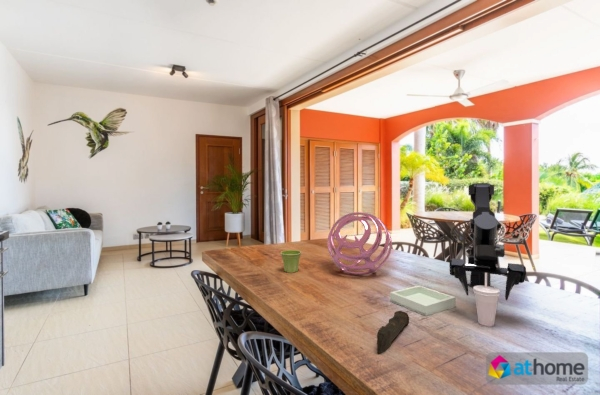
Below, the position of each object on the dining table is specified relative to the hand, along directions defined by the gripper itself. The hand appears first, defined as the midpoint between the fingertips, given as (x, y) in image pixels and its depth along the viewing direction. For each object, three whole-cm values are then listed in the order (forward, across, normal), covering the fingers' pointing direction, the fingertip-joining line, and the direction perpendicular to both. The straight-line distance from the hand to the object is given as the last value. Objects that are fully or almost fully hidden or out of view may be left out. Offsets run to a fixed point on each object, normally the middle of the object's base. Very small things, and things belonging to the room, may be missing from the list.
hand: (486, 297), depth 86 cm
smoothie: (+5, 0, +6) cm, 8 cm away
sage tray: (0, -18, +11) cm, 21 cm away
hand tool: (+19, -21, -8) cm, 29 cm away
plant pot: (-12, -75, +23) cm, 79 cm away
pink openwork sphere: (-19, -47, +30) cm, 59 cm away
